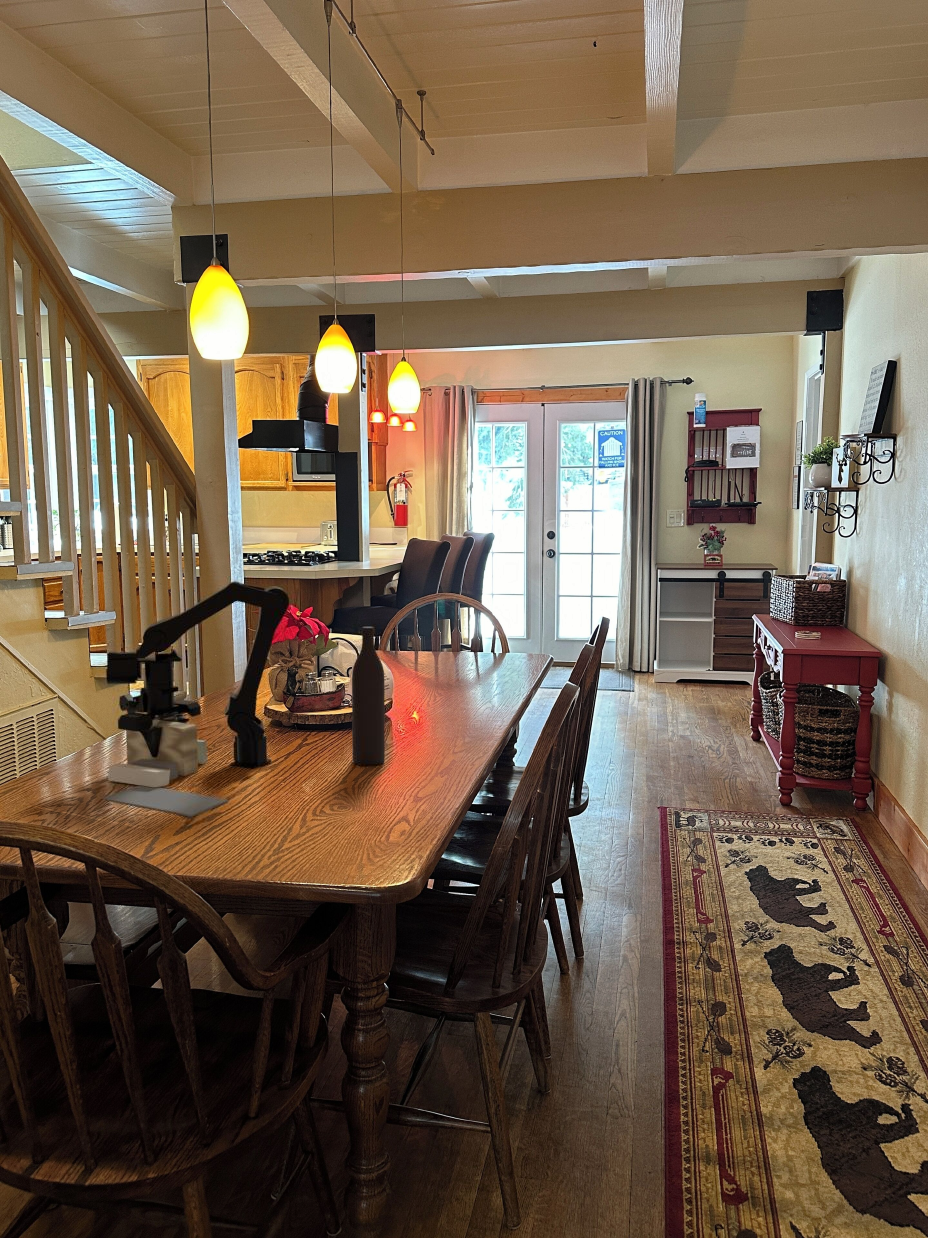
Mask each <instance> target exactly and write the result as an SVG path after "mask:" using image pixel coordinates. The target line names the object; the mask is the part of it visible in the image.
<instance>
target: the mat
mask: <svg viewBox="0 0 928 1238" xmlns="http://www.w3.org/2000/svg"><path fill="white" fill-rule="evenodd" d="M101 799H102V800H103V801H108V802H114V803H119V804H124V805H129V806H134V807H140V808H145V809H150V810H156V811H161V812H166V813H171V814H177V815H179V816H184V817H187V818H193V817H195V816H197V815H199V814H203V813H205V812H207V811H209V810H212V809H214V808H217V807H219V806H221V805H224V804H226V803H228V802H229V799H225V798H221V797H215V796H209V795H205V794H204V795H203V794H198V793H192V792H187V791H180V790H175V789H169V788H164V787H149V786H142V785H136V786H133V787H130V788H127V789H124V790H120V791H118V792H116V793H115V792H114V793H113V794H110V795H107V796H104V797H102V798H101Z"/></svg>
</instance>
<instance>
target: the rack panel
mask: <svg viewBox="0 0 928 1238" xmlns="http://www.w3.org/2000/svg"><path fill="white" fill-rule="evenodd" d="M207 748H208V747H207V740H202V739H197V754H198V764H201V765H205V764H207V763H208V749H207Z"/></svg>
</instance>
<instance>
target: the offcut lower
mask: <svg viewBox="0 0 928 1238" xmlns="http://www.w3.org/2000/svg"><path fill="white" fill-rule="evenodd" d="M169 776H170V770H165V769H157V768H150V767H143V766H136V765H129V764H127V763H118V764H117V763H116V764H110V765H109V766H108V778H107V780H108V782H109V781H110V782H116V783H123V784H130V785H136V786H138V785H142V786H149V787H159V788H162V787H166V786H168V785H170V781H169Z"/></svg>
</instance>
